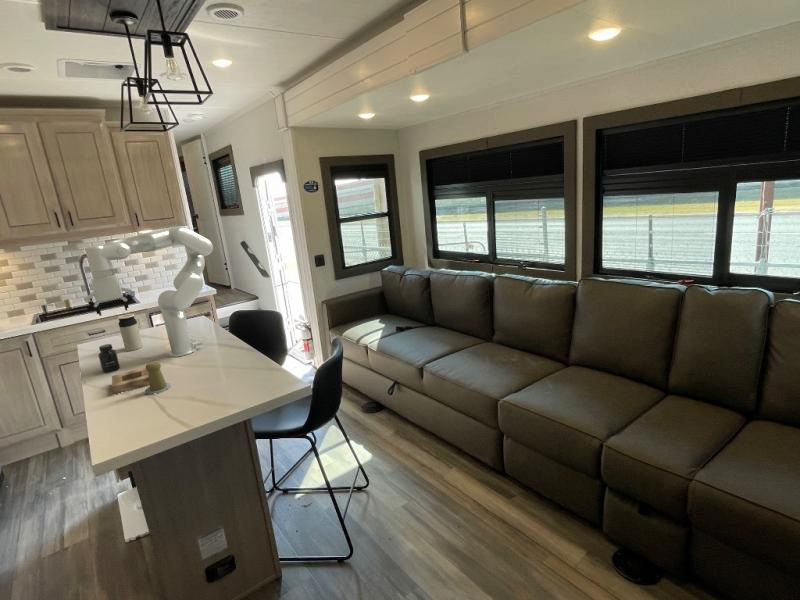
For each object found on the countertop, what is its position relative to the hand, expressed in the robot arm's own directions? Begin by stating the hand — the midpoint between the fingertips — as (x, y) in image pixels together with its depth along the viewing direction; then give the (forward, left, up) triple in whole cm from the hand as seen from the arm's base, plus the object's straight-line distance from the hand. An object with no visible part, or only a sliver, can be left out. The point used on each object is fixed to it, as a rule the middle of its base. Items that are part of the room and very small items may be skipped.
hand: (113, 312), depth 185 cm
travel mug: (-3, -37, -28) cm, 46 cm away
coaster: (-9, +32, -28) cm, 44 cm away
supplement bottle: (+7, -9, -28) cm, 30 cm away
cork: (-9, +33, -28) cm, 44 cm away
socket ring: (-1, +18, -28) cm, 33 cm away
